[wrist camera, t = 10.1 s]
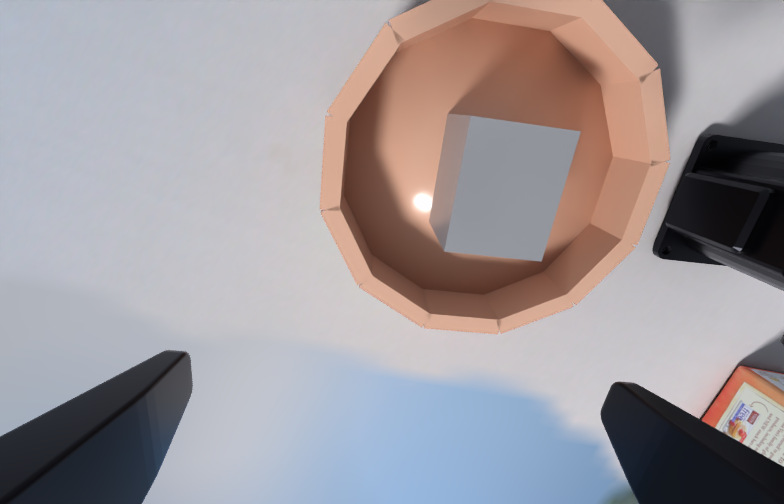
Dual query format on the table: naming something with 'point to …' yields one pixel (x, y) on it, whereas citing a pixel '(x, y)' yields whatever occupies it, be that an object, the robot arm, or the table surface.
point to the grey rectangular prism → (499, 186)
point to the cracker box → (752, 411)
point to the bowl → (503, 102)
